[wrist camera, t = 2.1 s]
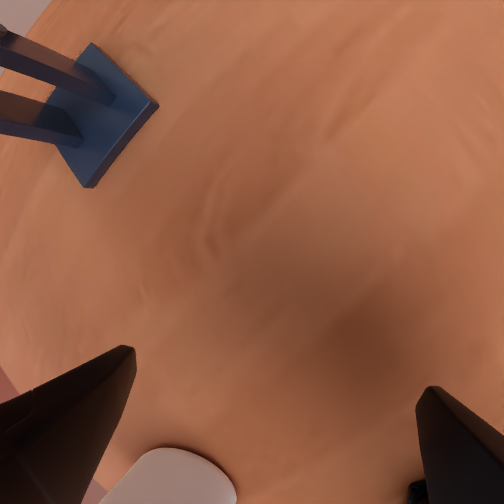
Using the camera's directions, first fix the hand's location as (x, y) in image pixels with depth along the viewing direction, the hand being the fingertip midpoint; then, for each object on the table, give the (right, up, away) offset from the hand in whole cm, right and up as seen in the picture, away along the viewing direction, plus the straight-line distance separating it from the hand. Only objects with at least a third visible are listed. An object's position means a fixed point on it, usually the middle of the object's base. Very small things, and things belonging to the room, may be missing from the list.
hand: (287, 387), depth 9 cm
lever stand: (-14, +15, +13) cm, 24 cm away
